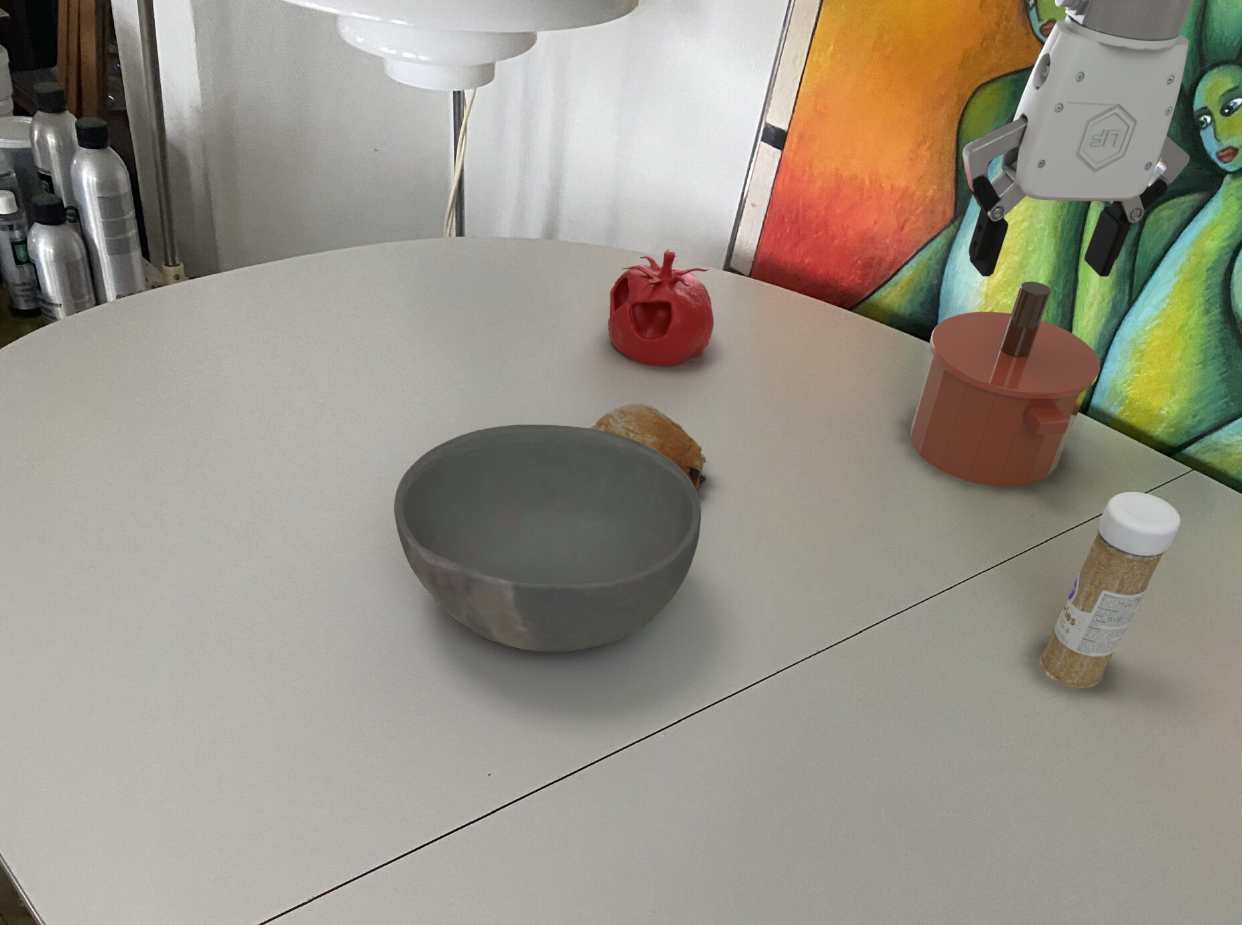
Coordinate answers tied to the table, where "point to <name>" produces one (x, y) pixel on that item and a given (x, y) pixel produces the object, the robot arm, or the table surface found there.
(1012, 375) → the lid
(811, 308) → the table surface
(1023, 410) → the pot
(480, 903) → the table surface
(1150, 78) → the robot arm
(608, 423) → the bread roll
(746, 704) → the table surface
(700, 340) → the red tomato
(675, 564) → the bowl
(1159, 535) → the sprinkles bottle
